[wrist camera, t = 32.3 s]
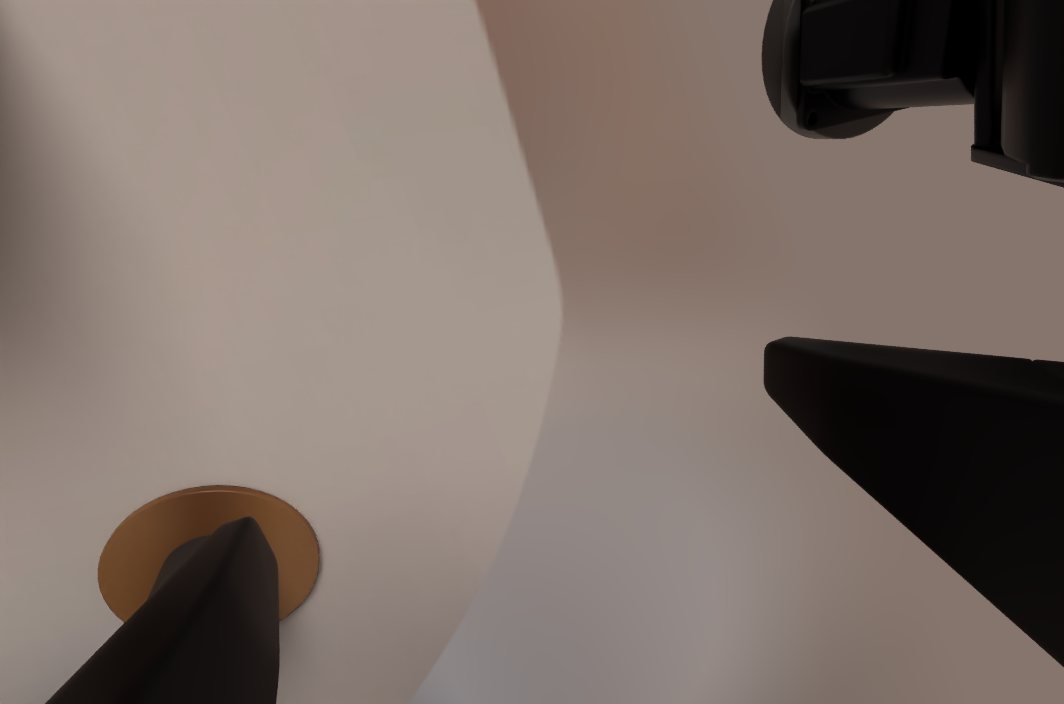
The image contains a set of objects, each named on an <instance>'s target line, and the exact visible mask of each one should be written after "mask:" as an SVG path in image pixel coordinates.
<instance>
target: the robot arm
mask: <svg viewBox="0 0 1064 704" xmlns="http://www.w3.org/2000/svg"><path fill="white" fill-rule="evenodd" d="M964 104H974V144H973V145H972V146H971V161H973V162H976V163H980V164H983V165H987V166H990V167H994V168H997V169H1001V170H1004V171H1008V172H1011V173H1015V174H1018V175H1022V176H1025V177H1029V178H1032V179H1036V180H1039V181H1043V182H1046V183H1050V184H1053V185H1057V186H1060V187H1064V0H801V14H800V39H799V64H798V89H797V114H796V123H797V127H798V128H799V129H800V130H801V131H813V130H817V129H822V128H826V127H830V126H834V125H838V124H842V123H847V122H851V121H855V120H859V119H863V118H867V117H872V116H876V115H880V114H884V113H888V112H893V111H897V110H901V109H905V108H909V107H923V106H942V105H964ZM809 115H810V116H811V118H810V121H809V123H808V117H809ZM764 386H765V389H766V391H767V393H768V394H769V396H770V397H771V398H772V399H773V400H774V401H775V402H776V403H777V404H778V406H780V408H781V409H782V410H783V411H784V412H785V413H786V414H787V415H788V416H789V417H790V418H791V419H792V421H793V422H794V423H796V425H797V426H798V427H799V428H800V429H801V430H802V431H803V432H804V433H805V435H806V436H807V437H808V438H809V439H810V440H811V441H812V442H813V443H814V444H815V445H816V446H817V447H818V448H819V449H820V450H821V451H822V452H823V453H824V454H825V455H826V456H827V457H828V458H829V459H830V460H831V461H832V462H833V463H834V464H836V465H837V466H838V467H839V468H840V469H841V470H842V471H843V472H845V473H846V474H847V475H848V476H849V477H850V478H851V479H852V480H853V481H855V482H856V483H857V484H858V485H859V486H860V487H861V488H863V489H864V490H865V491H866V492H867V493H868V494H869V495H870V496H872V497H873V498H874V499H875V500H876V501H877V502H878V503H879V504H880V505H882V506H883V507H884V508H885V509H886V510H887V511H888V512H889V513H891V514H892V515H893V516H894V517H895V518H896V519H898V521H900V522H901V523H902V524H903V525H904V526H905V527H907V528H908V529H909V530H910V531H911V532H912V533H913V534H914V535H915V536H917V537H918V538H919V539H920V540H921V541H922V542H923V543H924V544H926V545H927V546H928V547H929V548H930V549H931V550H932V551H933V552H935V553H936V554H937V555H938V556H939V557H940V558H941V559H942V560H944V561H945V562H946V563H947V564H948V565H949V566H950V567H951V568H953V569H954V570H955V571H956V572H957V573H958V574H959V575H961V576H962V577H963V578H964V579H965V580H966V581H967V582H969V584H971V585H972V586H973V587H974V588H975V589H976V590H977V591H978V592H980V593H981V594H982V595H983V596H984V597H985V598H986V599H987V600H989V601H990V602H991V603H992V604H993V605H994V606H995V607H996V608H998V609H999V610H1000V611H1001V612H1002V613H1003V614H1004V615H1005V616H1007V617H1008V618H1009V619H1010V620H1011V621H1012V622H1013V623H1014V624H1016V625H1017V626H1018V627H1019V628H1020V629H1021V630H1022V631H1023V632H1025V633H1026V634H1027V635H1028V636H1029V637H1030V638H1031V639H1032V640H1034V641H1035V642H1036V643H1037V644H1038V645H1039V646H1040V647H1041V648H1043V649H1044V650H1045V651H1046V652H1047V653H1048V654H1049V655H1051V656H1052V657H1053V658H1054V659H1055V660H1056V661H1057V662H1058V663H1059V664H1061V665H1062V666H1063V667H1064V362H1058V361H1046V360H1034V361H1031V360H1030V359H1025V358H1014V357H1002V356H993V355H982V354H971V353H960V352H950V351H939V350H928V349H918V348H906V347H896V346H885V345H875V344H864V343H853V342H843V341H832V340H821V339H811V338H810V339H809V338H799V337H784V338H781V339H778V340H775V341H772V342H770V343H768V344H767V345H766V347H765V350H764ZM279 653H280V648H279V580H278V564H277V560H276V557H275V554H274V552H273V550H272V549H271V547H270V545H269V543H268V541H267V539H266V537H265V536H264V534H263V532H262V530H261V528H260V526H259V524H258V523H257V521H256V520H255V519H254V518H253V517H250V516H246V517H243V518H240V519H237V520H234V521H230V522H227V523H224V524H222V525H221V526H219V527H218V528H217V529H216V530H215V531H214V532H213V533H212V534H211V535H210V536H209V537H208V538H207V540H206V541H205V542H204V543H203V544H202V545H201V546H200V547H199V548H198V549H197V550H196V551H195V552H194V553H193V554H192V555H191V556H190V557H189V558H188V559H187V560H186V561H185V562H184V563H183V564H182V565H181V566H180V567H179V568H178V569H177V570H176V571H175V572H174V573H173V574H172V575H171V576H170V577H169V578H168V579H167V580H166V581H165V582H164V583H163V584H162V585H161V586H160V587H159V588H158V589H157V590H156V591H155V592H154V593H153V594H152V595H151V597H150V598H149V599H148V600H147V601H146V602H145V603H144V604H143V605H142V606H141V607H140V608H139V609H138V610H137V611H136V612H135V613H134V614H133V615H132V616H131V617H130V618H129V619H128V620H127V621H126V622H125V623H124V624H123V625H122V626H121V627H120V628H119V629H118V630H117V631H116V632H115V633H114V634H113V635H112V636H111V637H110V638H109V639H108V640H107V641H106V642H105V643H104V644H103V645H102V646H101V647H100V648H99V649H98V650H97V651H96V652H95V653H94V655H93V656H92V657H91V658H90V659H89V660H88V661H87V662H86V663H85V664H84V665H83V666H82V667H81V668H80V669H79V670H78V671H77V672H76V673H75V674H74V675H73V676H72V677H71V678H70V679H69V680H68V681H67V682H66V683H65V684H64V685H63V686H62V687H61V688H60V689H59V690H58V691H57V692H56V693H55V694H54V695H53V696H52V697H51V698H50V699H49V700H48V701H47V702H46V703H45V704H276V698H277V689H278V678H279Z"/></svg>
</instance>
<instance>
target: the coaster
mask: <svg viewBox="0 0 1064 704" xmlns="http://www.w3.org/2000/svg"><path fill="white" fill-rule="evenodd" d="M246 516H250V517H253V518H254V519H255V520H256V521H257V523H258V524H259V526H260V528H261V530H262V532H263V534H264V536H265V537H266V539H267V541H268V543H269V545H270V547H271V549H272V550H273V552H274V554H275V557H276V560H277V564H278V580H279V621H281V620H282V619H284V618H285V617H287V616H288V615H289V614H290V613H291V612H293V611H294V610H295V609H296V608H297V607H298V606H299V605H300V604H301V603H302V602H303V600H304V599H305V598H306V596H307V595H308V593H309V592H310V590H311V588H312V586H313V584H314V582H315V579H316V577H317V574H318V568H319V545H318V541H317V538H316V535H315V533H314V531H313V529H312V527H311V526H310V524H309V523H308V521H307V520H306V519H305V518H304V517H303V515H302V514H300V513H299V512H298V511H297V510H296V509H295V508H294V507H292V506H291V505H289V504H288V503H286V502H285V501H283V500H281V499H279V498H277V497H275V496H273V495H270V494H267V493H264V492H262V491H258V490H254V489H250V488H245V487H237V486H223V485H215V486H201V487H195V488H189V489H184V490H181V491H177V492H173V493H170V494H168V495H165V496H162V497H159V498H157V499H155V500H153V501H151V502H149V503H147V504H145V505H144V506H142V507H141V508H139V509H138V510H136V511H135V512H133V513H132V514H131V515H130V516H128V517H127V518H126V519H125V520H124V521H123V522H122V523H121V524H120V525H119V526H118V527H117V529H116V530H115V531H114V532H113V534H112V535H111V537H110V539H109V540H108V542H107V543H106V545H105V547H104V549H103V552H102V554H101V556H100V561H99V565H98V582H99V587H100V591H101V593H102V596H103V598H104V600H105V602H106V603H107V605H108V606H109V608H110V609H111V610H112V611H113V612H114V614H115V615H116V616H117V617H118V618H120V619H121V620H122V621H123V622H126V621H127V620H128V619H129V618H130V617H131V616H132V615H133V614H134V613H135V612H136V611H137V610H138V609H139V608H140V607H141V606H142V605H143V604H144V603H145V602H146V601H147V599H148V596H149V594H150V592H151V590H152V587H153V585H154V583H155V581H156V578H157V576H158V574H159V571H160V569H161V567H162V565H163V563H164V561H165V559H166V558H167V557H168V555H169V554H170V553H171V552H172V551H174V550H175V549H176V548H178V547H179V546H180V545H182V544H184V543H186V542H188V541H190V540H192V539H195V538H198V537H202V536H207V535H211V534H212V533H213V532H214V531H215V530H216V529H217V528H218V527H219V526H221V525H222V524H224V523H227V522H230V521H234V520H237V519H240V518H243V517H246Z"/></svg>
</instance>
